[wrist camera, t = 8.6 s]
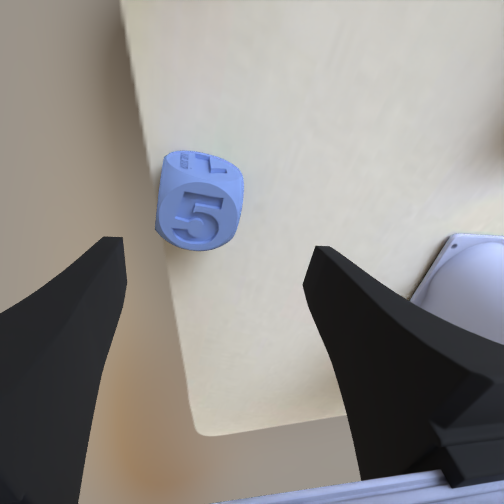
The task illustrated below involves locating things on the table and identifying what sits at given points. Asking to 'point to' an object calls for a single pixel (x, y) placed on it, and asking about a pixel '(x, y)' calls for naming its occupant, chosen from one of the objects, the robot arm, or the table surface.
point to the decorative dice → (198, 200)
